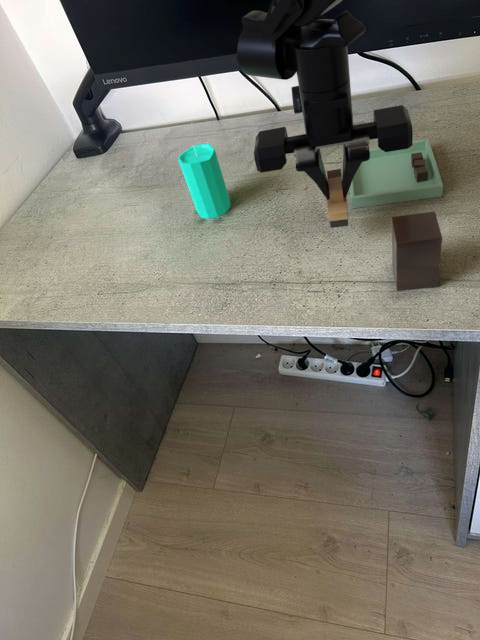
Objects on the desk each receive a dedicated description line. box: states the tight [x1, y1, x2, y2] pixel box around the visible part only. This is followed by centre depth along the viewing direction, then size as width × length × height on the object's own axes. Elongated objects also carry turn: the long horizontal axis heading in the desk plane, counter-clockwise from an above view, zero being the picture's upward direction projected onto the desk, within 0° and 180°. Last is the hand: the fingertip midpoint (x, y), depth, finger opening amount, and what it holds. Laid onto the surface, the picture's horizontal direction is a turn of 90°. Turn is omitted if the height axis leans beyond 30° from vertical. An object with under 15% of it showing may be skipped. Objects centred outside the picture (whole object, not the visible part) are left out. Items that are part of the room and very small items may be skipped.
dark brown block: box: [391, 211, 443, 292], centre depth 60 cm, size 5×5×8 cm
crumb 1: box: [411, 152, 423, 168], centre depth 78 cm, size 2×2×2 cm
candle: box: [177, 143, 232, 220], centre depth 80 cm, size 6×6×12 cm
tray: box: [349, 138, 444, 210], centre depth 77 cm, size 13×13×2 cm
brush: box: [326, 168, 349, 229], centre depth 66 cm, size 6×3×7 cm, turn 175°
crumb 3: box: [415, 166, 428, 182], centre depth 75 cm, size 2×2×2 cm
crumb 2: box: [414, 159, 425, 174], centre depth 76 cm, size 2×2×2 cm
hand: (336, 196), depth 66 cm, fingers closed on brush, 2 cm apart
